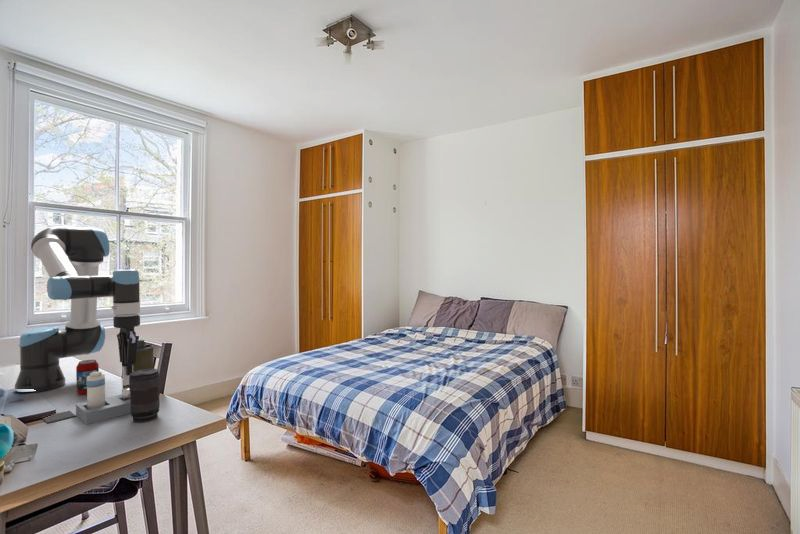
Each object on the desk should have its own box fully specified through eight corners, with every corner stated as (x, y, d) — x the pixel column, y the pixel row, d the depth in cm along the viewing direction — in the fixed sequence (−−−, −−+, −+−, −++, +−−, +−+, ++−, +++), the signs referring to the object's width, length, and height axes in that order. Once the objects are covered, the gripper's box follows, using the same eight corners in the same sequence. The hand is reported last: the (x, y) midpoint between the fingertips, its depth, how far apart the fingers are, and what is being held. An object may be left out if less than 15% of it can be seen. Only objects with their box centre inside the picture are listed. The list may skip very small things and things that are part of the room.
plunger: (120, 400, 138) (120, 389, 138) (132, 398, 141) (132, 386, 141) (124, 403, 136) (123, 391, 136) (136, 400, 138) (136, 388, 138)
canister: (138, 398, 148) (137, 343, 147) (114, 396, 150) (113, 342, 149) (161, 389, 158) (161, 338, 158) (139, 387, 160) (138, 337, 160)
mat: (42, 418, 130) (42, 416, 130) (69, 411, 135) (69, 410, 135) (47, 423, 125) (47, 422, 125) (75, 416, 131) (75, 415, 131)
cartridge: (85, 416, 131) (84, 373, 131) (103, 412, 135) (102, 370, 134) (89, 419, 128) (88, 375, 128) (107, 415, 132) (106, 372, 131)
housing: (76, 415, 132) (75, 404, 132) (132, 401, 144) (132, 391, 144) (86, 424, 124) (86, 413, 124) (145, 409, 137) (144, 399, 137)
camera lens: (132, 416, 131) (131, 369, 131) (161, 412, 134) (160, 367, 134) (127, 425, 123) (126, 376, 123) (157, 421, 127) (157, 373, 126)
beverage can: (77, 396, 150) (76, 364, 150) (76, 392, 155) (75, 361, 155) (100, 392, 154) (99, 361, 154) (98, 388, 160) (97, 358, 159)
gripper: (107, 314, 139) (109, 383, 139) (120, 317, 131) (121, 390, 131) (132, 312, 145) (133, 378, 145) (146, 315, 137) (147, 385, 137)
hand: (128, 384), depth 138 cm, fingers closed
